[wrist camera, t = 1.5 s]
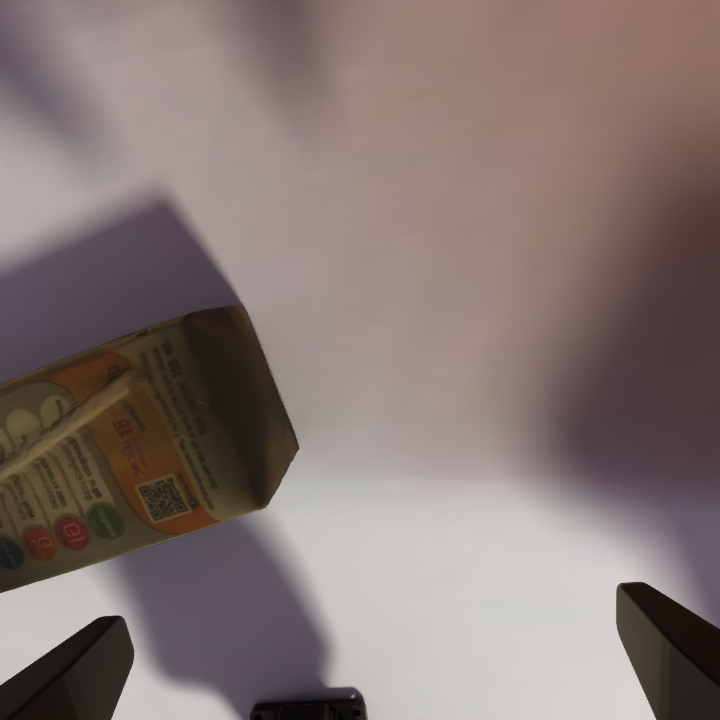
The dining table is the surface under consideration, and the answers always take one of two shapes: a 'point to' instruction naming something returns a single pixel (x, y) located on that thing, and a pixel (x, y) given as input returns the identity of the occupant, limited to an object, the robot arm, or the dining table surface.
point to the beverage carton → (137, 444)
